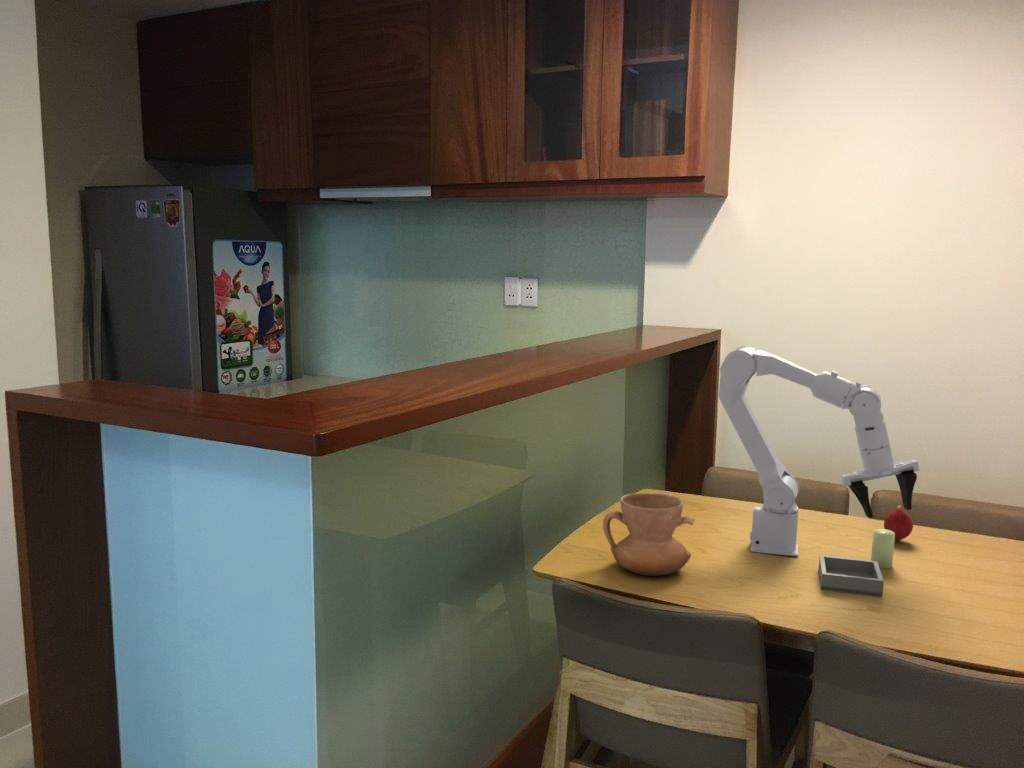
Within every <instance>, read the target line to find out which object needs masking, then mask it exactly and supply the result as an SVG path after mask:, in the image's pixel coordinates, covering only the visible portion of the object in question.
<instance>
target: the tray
mask: <svg viewBox="0 0 1024 768" xmlns="http://www.w3.org/2000/svg"><path fill="white" fill-rule="evenodd" d="M818 576H819V584H821V585H820V589H821V590H824V589H825V590H826V591H832V592H833V591H834V592H840V593H841V592H842V593H848V594H849V593H850V594H859V595H865V596H866V595H867V596H875V597H883V593H884V592H883V591H884V584H885V583H884V582H885V581H884V577H883V575H882V572H881V568H879V565H878V562H877V561H871V559H870V560H869V559H860V558H858V559H857V558H851V557H850V558H849V557H841V556H831V555H822V554H819V557H818ZM825 590H824V591H825Z"/></svg>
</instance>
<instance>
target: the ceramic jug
mask: <svg viewBox="0 0 1024 768" xmlns="http://www.w3.org/2000/svg"><path fill="white" fill-rule="evenodd" d="M683 506H684V502H683V499H681V498H680V497H679V496H675V495H670V494H666V493H661V492H660V493H659V492H658V493H657V492H656V493H653V492H652V493H650V492H647V493H644V492H636V493H628V494H624V495H622V496H621V497H620V510H621V511H618V510H612V511H610V512H607V514H605V516H604V517H603V521H602V528H603V533H604V536H605V539H607V542H608V544H609V545H610V550H611V553H612V556H613V557H614V559H615V561H616V563H617V564H618V565H619V566H620V567H622V568H623V569H625V570H627V571H629V572H631V573H634V574H638V575H642V576H653V577H654V576H656V577H657V576H658V577H659V576H666V575H670V574H673V573H675V572H678V571H679V570H681V569H683V567H684V566H685V565H686V564H687V563H688V562H689V561H690V559H691V555H692V554H691V552H690V551H689V550H687V548H686V547H685V546H684V545H683V544H682V543H681V542H680V541H679V540H677V539H676V538H675V537H674V536H673V535H674V532H675V531H676V529H677V528H678V527H680V526H682V525H684V524H687V525H688V524H689V525H690V526H693V525H694V523H695V521H696V519H695V518H694V517H691V516H682V513H683ZM613 519H616V520H617V521H620V523H622V524H623V525H625V526H626V527H627V531H628V533H629V534H628V535H627V536H626V537H623V539H621V540H620V541H619V542H617V543H615V540H614V538H613V535H612V531H611V521H612V520H613Z"/></svg>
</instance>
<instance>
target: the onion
mask: <svg viewBox="0 0 1024 768" xmlns="http://www.w3.org/2000/svg"><path fill="white" fill-rule="evenodd" d="M903 508H904V506H902V505H900V504H899V505H897V507H896V509H894V510H892V511H890V512H888V514H887V515H886V517H885V518H884V521H883V529H886V530H890V531H893V532H894V533H895V539H894V542H901V541H902V540H904V539H906V538H907V537H909V536H910V535H911V533H912V532H913V528H914V521H913V519H912V518H911V516H910V515H909V513H907V512H906V511H904V510H903Z"/></svg>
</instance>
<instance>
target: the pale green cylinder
mask: <svg viewBox="0 0 1024 768" xmlns="http://www.w3.org/2000/svg"><path fill="white" fill-rule="evenodd" d="M894 539H895V533H894V532H893V531H890V530H886V529H885V528H875V529H873V531H872V544H871V555H870V556H871V558H870V561H877V562H878V565H879V568H880V570H882V569H883V570H890V569H892V568H893V559H894V551H895V540H894Z"/></svg>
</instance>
